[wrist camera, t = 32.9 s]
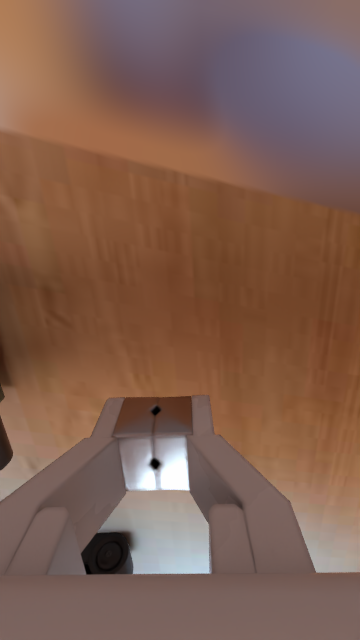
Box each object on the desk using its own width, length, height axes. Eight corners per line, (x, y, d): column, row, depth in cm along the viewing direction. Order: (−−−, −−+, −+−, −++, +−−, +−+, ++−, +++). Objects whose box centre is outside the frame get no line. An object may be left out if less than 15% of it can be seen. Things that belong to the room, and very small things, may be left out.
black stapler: (132, 531, 22) (124, 577, 19) (136, 551, 23) (129, 598, 20) (-80, 537, 23) (-117, 582, 20) (-68, 556, 24) (-102, 602, 21)
